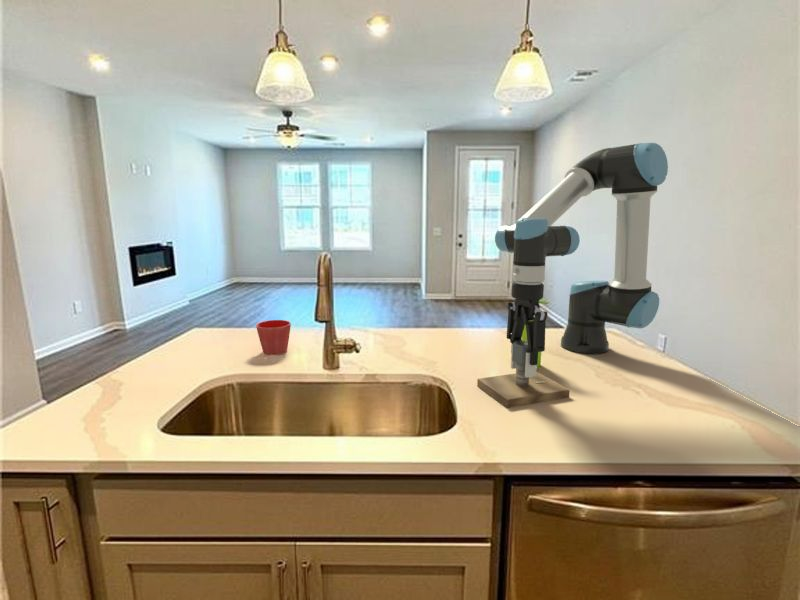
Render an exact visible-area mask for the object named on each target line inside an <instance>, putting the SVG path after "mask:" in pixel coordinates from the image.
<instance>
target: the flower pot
mask: <svg viewBox="0 0 800 600" xmlns="http://www.w3.org/2000/svg"><path fill="white" fill-rule="evenodd" d="M291 325H292V322H290V321H289V320H285V319H269V320H264V321H261V322H258V323H256V330H257V331H256V332H257V335H258V338H259V342H260V346H261V348H262V349H261V350H262V353H263V354H265V355H269V356H277V355H282V354H284V353H287V351H288V347H289V342H290V341H289V340H290V334H291Z"/></svg>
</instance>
